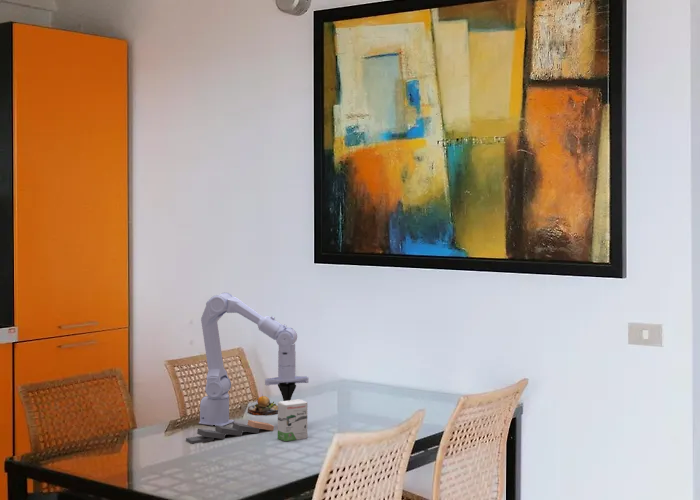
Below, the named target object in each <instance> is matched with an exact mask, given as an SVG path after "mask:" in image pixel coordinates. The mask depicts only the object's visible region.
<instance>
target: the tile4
mask: <svg viewBox="0 0 700 500" xmlns="http://www.w3.org/2000/svg"><path fill="white" fill-rule="evenodd" d="M196 434H197V435H198V436H204V437H210V438H214V439H221V440H225V437H226V434H223V433H220V432H217V431H215V430H212V429H211V430H210V429H202V428H198V429H197V433H196Z"/></svg>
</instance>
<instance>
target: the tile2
mask: <svg viewBox="0 0 700 500" xmlns="http://www.w3.org/2000/svg"><path fill="white" fill-rule="evenodd" d="M231 428H234V429H236V430H238V431H243V432H245V433H247V432H248V433H253V434H260V433H259V432H260V428H254V427H251V426H249V425H247V424H243V423H236V422H232V427H231Z"/></svg>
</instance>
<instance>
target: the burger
mask: <svg viewBox="0 0 700 500" xmlns="http://www.w3.org/2000/svg"><path fill="white" fill-rule="evenodd" d="M270 400H271V399H270V398H269V397H268V396H264V395H263V394H262V395H261V396H259V397H258V399H257V402H256V404H254V405H251V406H248V408H247V413H248V414H251V415H253V416H256V415H257V416H263V417H264V416H274V415H275V416H276V415H278V404H276V403H275V401H273V402H271V401H270Z"/></svg>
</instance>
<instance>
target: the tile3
mask: <svg viewBox="0 0 700 500" xmlns="http://www.w3.org/2000/svg"><path fill="white" fill-rule="evenodd" d="M214 431H217V432H220V433H223V434H225V435H231V436H237V437H242V435H243V432H244V431H238V430H236V429H234V428H232V427H230V426H215V429H214Z"/></svg>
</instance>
